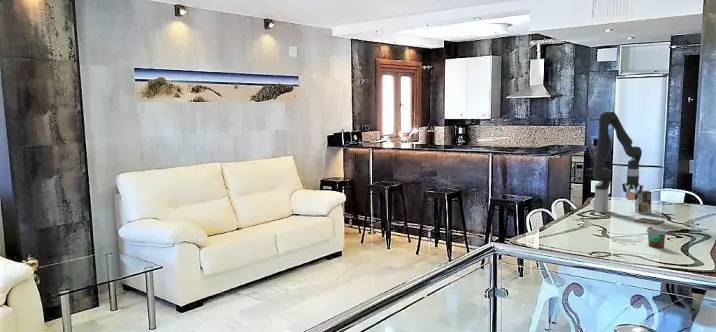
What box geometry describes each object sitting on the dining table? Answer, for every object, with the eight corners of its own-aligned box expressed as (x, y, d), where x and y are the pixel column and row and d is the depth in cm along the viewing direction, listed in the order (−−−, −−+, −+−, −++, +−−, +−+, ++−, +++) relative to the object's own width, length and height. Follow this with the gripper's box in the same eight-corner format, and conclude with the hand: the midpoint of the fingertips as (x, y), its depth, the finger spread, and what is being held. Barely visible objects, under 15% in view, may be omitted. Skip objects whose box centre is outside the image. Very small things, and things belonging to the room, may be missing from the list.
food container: (641, 244, 308) (641, 226, 307) (651, 243, 309) (651, 226, 308) (655, 249, 296) (655, 231, 295) (665, 248, 297) (666, 231, 295)
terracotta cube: (626, 199, 379) (627, 192, 379) (630, 198, 382) (630, 191, 382) (634, 200, 376) (634, 193, 375) (637, 199, 379) (637, 192, 378)
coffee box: (647, 212, 396) (647, 190, 394) (651, 213, 390) (651, 191, 388) (634, 212, 397) (635, 190, 395) (638, 213, 391) (638, 192, 389)
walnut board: (634, 221, 365) (634, 220, 365) (642, 219, 373) (642, 217, 373) (656, 224, 354) (656, 223, 354) (664, 222, 362) (664, 220, 362)
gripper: (620, 174, 380) (619, 198, 382) (641, 176, 369) (640, 200, 371) (625, 173, 385) (624, 196, 387) (645, 175, 374) (645, 199, 376)
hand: (632, 198), depth 379 cm, fingers closed on terracotta cube, 5 cm apart
